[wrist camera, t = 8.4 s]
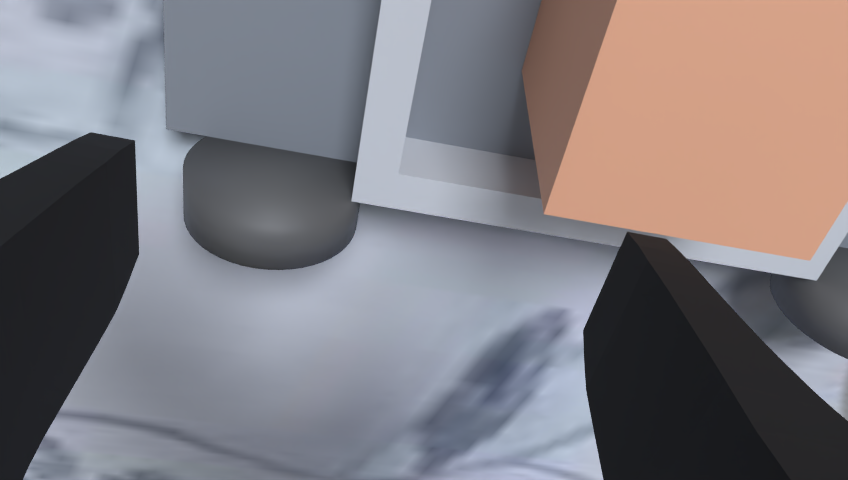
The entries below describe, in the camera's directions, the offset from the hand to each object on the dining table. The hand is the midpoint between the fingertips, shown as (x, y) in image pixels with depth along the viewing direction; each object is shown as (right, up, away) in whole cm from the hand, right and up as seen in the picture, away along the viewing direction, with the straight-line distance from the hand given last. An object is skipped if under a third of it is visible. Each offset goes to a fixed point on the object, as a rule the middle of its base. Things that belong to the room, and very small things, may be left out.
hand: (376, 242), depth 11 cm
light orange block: (+6, +6, +6) cm, 10 cm away
